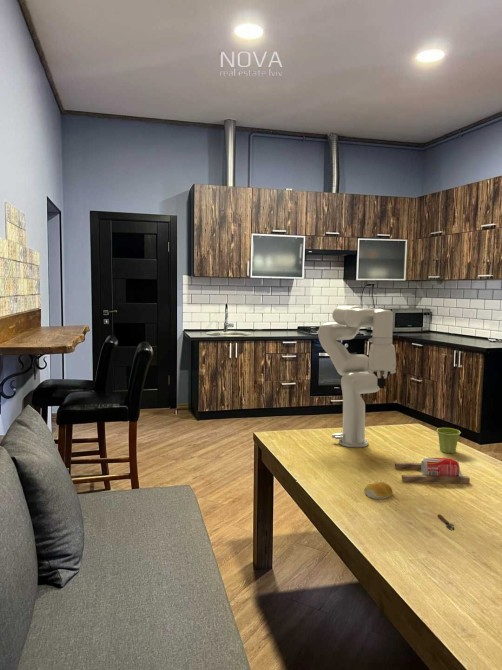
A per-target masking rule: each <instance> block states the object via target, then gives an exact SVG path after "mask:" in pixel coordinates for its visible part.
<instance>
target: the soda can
mask: <svg viewBox="0 0 502 670" xmlns="http://www.w3.org/2000/svg"><path fill="white" fill-rule="evenodd" d="M420 463H421V470H422V472H421V475H429V476H459V473H461V471H460V470H461V469H460V464H459V461H458V460H455V459H453V458H450V457H448V458H447V457H424V458H423V459H422V460H421V462H420Z"/></svg>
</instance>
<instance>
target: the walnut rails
mask: <svg viewBox="0 0 502 670" xmlns="http://www.w3.org/2000/svg"><path fill="white" fill-rule="evenodd" d="M394 469H395V470H413V471H414V470H415V471H416V470H417V471H418V470H419V471H420V469H421V462H394ZM401 482H402V483H423V484H424V483H426V484H427V483H429V484H430V483H431V484H463V485H464V484H471V483H470V482H471V481H470V477H469V476H468V475H467V476H464V475H463V476H429V475H423V474H418V475H417V474H402V475H401Z"/></svg>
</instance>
